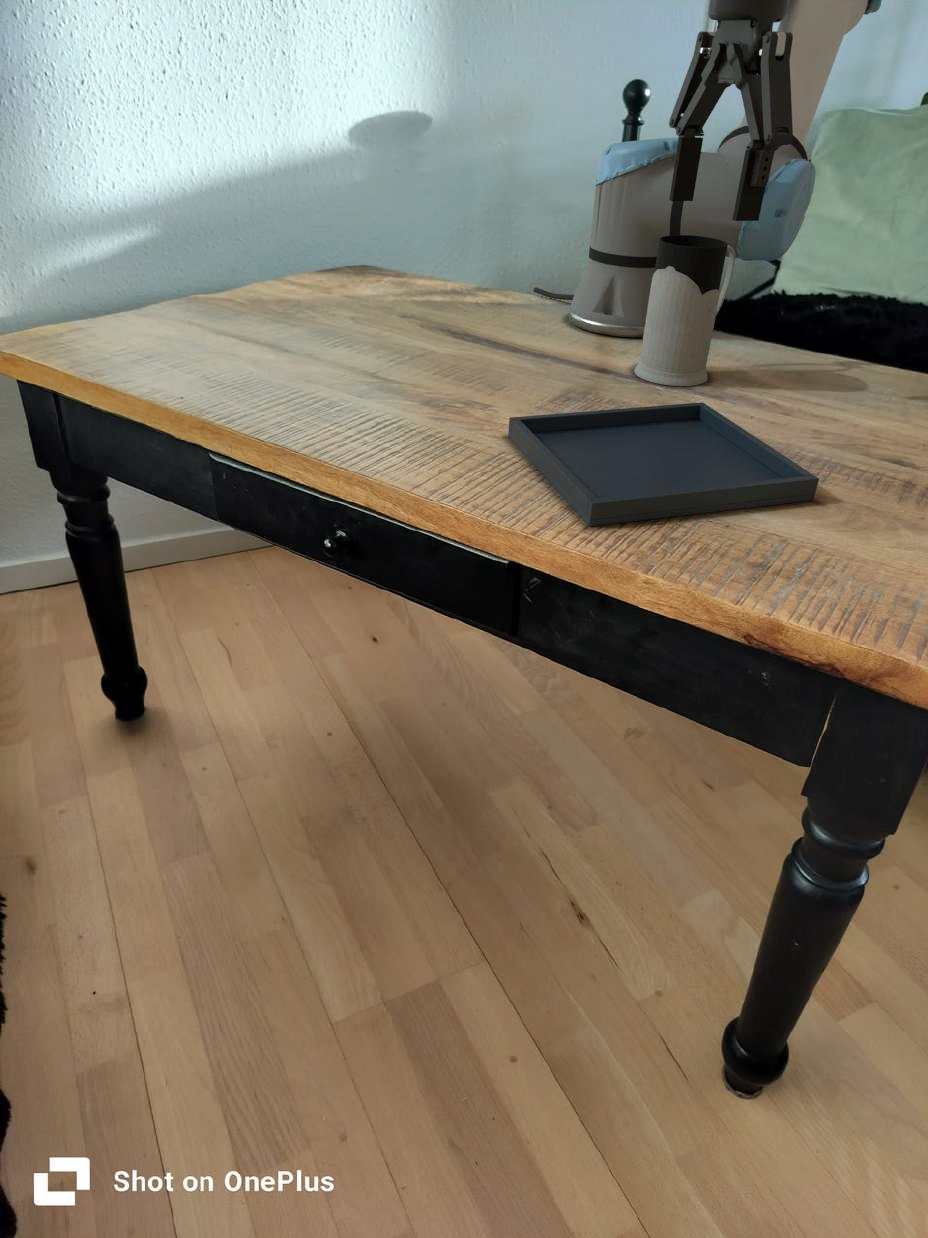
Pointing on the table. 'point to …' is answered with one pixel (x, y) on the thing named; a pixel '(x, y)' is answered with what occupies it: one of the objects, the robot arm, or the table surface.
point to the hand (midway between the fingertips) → (711, 210)
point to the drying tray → (657, 463)
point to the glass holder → (683, 309)
